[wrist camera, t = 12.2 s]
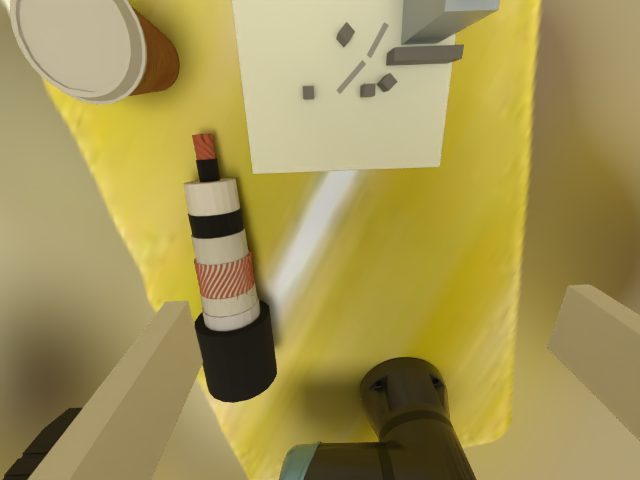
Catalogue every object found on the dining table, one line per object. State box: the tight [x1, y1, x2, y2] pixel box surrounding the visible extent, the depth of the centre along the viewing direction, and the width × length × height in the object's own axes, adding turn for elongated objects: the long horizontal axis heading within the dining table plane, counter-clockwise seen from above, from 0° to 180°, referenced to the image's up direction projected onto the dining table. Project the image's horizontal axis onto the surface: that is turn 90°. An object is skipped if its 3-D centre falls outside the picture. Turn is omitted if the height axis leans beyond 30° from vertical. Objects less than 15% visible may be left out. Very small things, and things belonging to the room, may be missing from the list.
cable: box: [184, 134, 277, 403], centre depth 40 cm, size 10×34×10 cm, turn 4°
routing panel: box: [232, 0, 464, 174], centre depth 33 cm, size 20×24×4 cm
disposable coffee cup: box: [10, 0, 179, 104], centre depth 28 cm, size 10×10×12 cm
